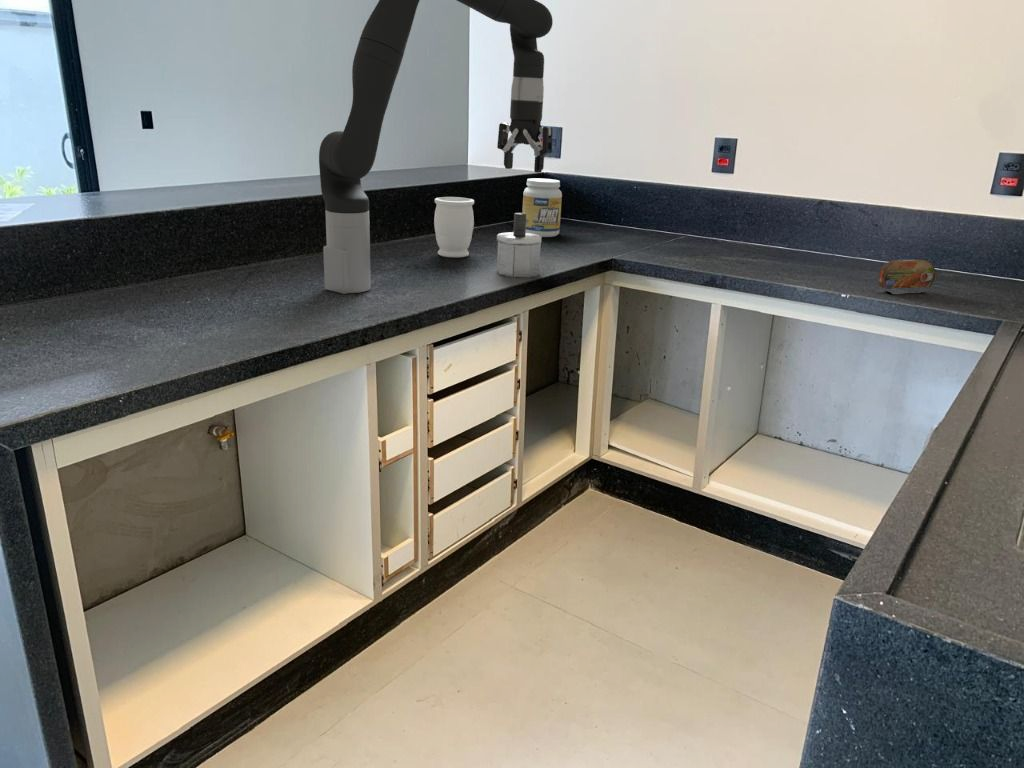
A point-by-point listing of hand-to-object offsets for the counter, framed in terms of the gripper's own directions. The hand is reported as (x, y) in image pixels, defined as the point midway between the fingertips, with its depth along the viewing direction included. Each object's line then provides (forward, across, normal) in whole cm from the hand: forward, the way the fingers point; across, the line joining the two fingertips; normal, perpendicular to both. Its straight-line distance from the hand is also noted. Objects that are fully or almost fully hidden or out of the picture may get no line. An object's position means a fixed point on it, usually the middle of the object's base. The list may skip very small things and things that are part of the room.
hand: (523, 170), depth 189 cm
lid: (+17, 0, 0) cm, 17 cm away
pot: (+25, 0, 0) cm, 25 cm away
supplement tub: (+25, -27, +51) cm, 63 cm away
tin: (+25, +80, +54) cm, 100 cm away
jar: (+25, -25, +5) cm, 36 cm away
